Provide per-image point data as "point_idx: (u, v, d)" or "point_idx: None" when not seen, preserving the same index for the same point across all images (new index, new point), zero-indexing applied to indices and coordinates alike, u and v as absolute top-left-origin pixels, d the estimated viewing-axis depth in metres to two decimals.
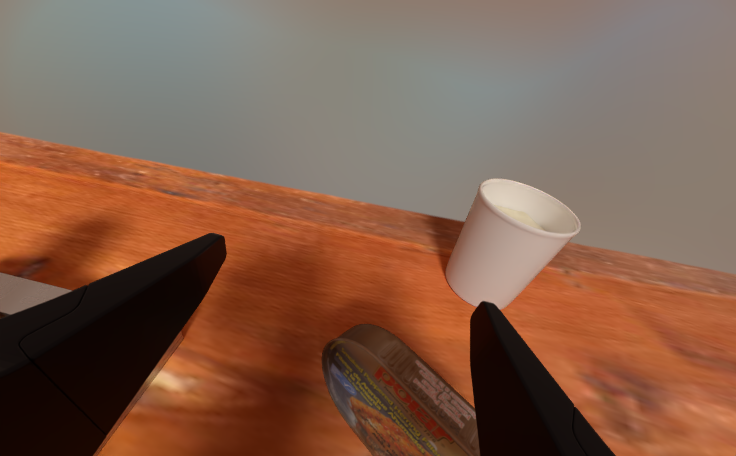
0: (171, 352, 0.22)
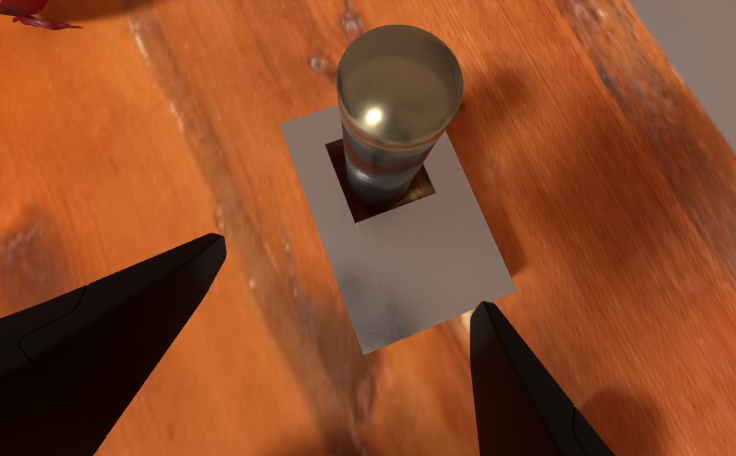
0: None
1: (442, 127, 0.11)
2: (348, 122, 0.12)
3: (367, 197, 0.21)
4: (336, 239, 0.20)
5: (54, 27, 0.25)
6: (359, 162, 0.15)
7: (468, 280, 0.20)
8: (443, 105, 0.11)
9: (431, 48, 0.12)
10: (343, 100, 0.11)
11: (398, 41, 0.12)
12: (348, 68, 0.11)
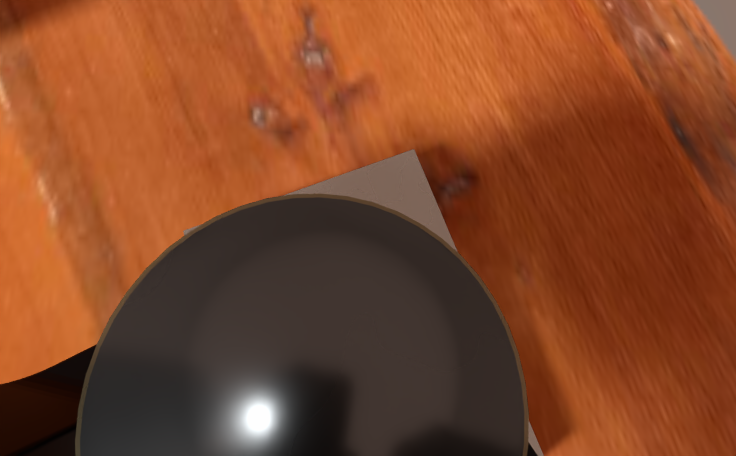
0: None
1: None
2: None
3: None
4: None
5: None
6: None
7: None
8: None
9: (418, 279, 0.04)
10: None
11: (308, 253, 0.04)
12: (127, 366, 0.03)
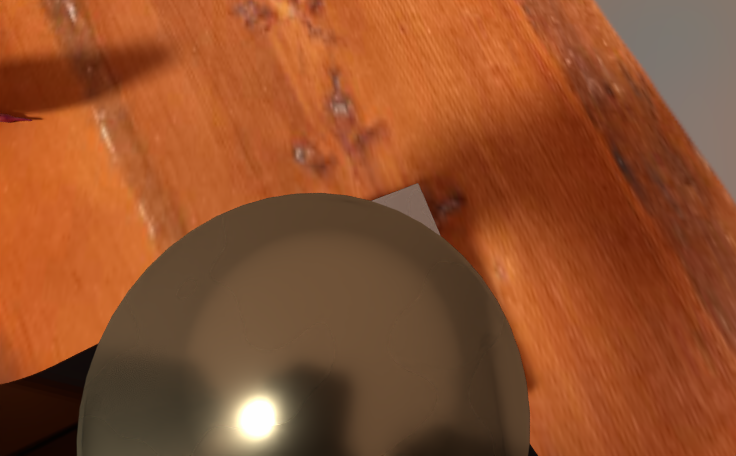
0: None
1: None
2: None
3: None
4: None
5: (10, 121, 0.22)
6: None
7: None
8: None
9: (420, 278, 0.04)
10: None
11: (309, 253, 0.04)
12: (128, 365, 0.03)
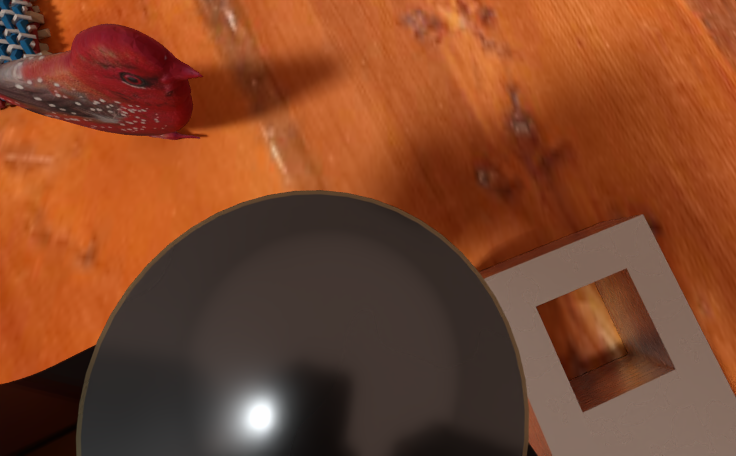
0: None
1: None
2: None
3: None
4: (562, 434, 0.16)
5: (177, 138, 0.20)
6: None
7: None
8: None
9: (419, 275, 0.04)
10: None
11: (308, 250, 0.04)
12: (128, 362, 0.03)
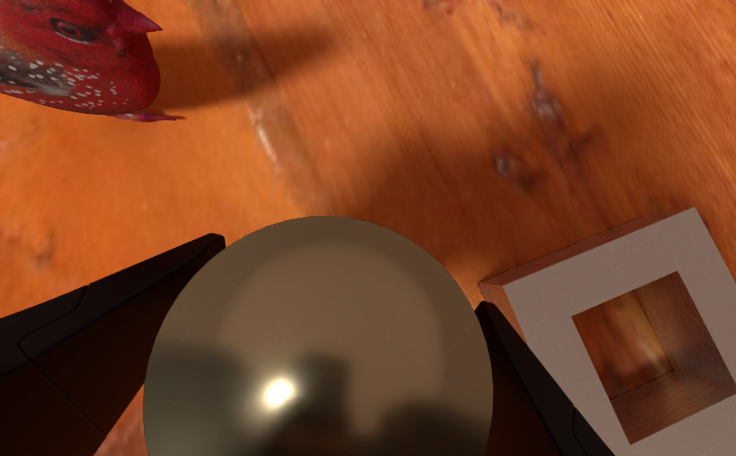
0: None
1: None
2: None
3: None
4: None
5: (149, 120, 0.18)
6: None
7: None
8: None
9: (408, 283, 0.04)
10: None
11: (321, 263, 0.04)
12: (181, 352, 0.04)
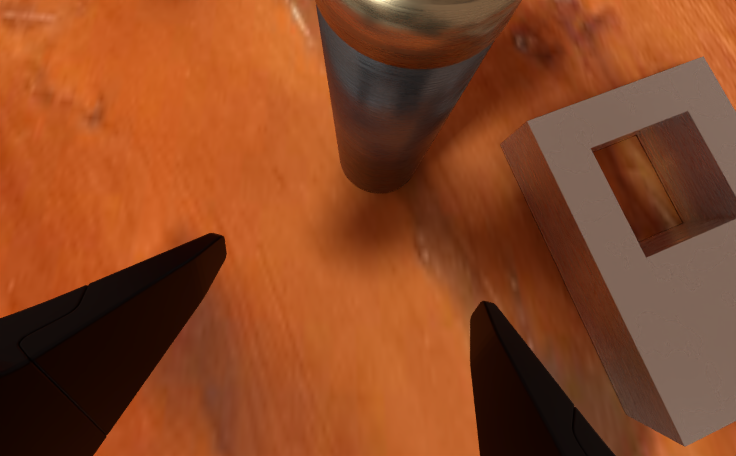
0: None
1: None
2: None
3: (365, 172, 0.15)
4: (624, 280, 0.15)
5: None
6: (351, 98, 0.09)
7: None
8: None
9: None
10: None
11: None
12: None
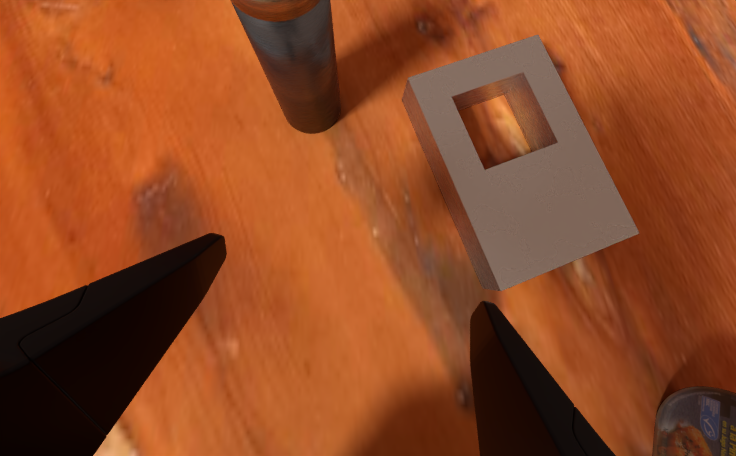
0: None
1: None
2: None
3: (291, 109, 0.21)
4: (468, 184, 0.22)
5: None
6: (256, 44, 0.16)
7: (593, 223, 0.21)
8: None
9: None
10: None
11: None
12: None
